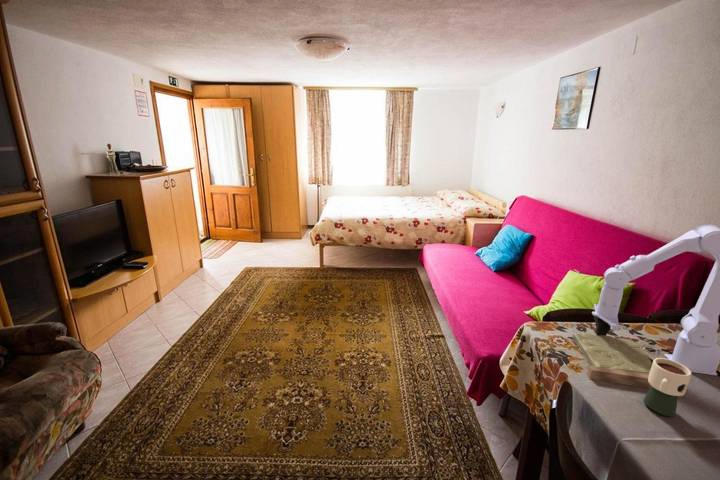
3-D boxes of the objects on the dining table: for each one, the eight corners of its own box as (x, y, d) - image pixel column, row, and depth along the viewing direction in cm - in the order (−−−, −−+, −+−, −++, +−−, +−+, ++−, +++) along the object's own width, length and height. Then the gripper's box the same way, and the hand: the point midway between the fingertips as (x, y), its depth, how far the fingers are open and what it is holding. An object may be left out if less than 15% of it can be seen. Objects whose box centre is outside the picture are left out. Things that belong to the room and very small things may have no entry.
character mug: (671, 428, 80) (687, 383, 76) (635, 409, 85) (648, 367, 81) (681, 406, 86) (696, 365, 82) (646, 391, 91) (659, 351, 88)
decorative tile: (595, 376, 98) (598, 366, 97) (571, 339, 116) (573, 330, 115) (669, 387, 93) (673, 377, 92) (632, 346, 112) (634, 337, 111)
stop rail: (674, 387, 93) (677, 378, 92) (679, 392, 91) (682, 383, 90) (586, 374, 98) (588, 365, 97) (589, 378, 96) (591, 369, 95)
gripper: (587, 291, 118) (579, 325, 122) (605, 311, 104) (595, 348, 108) (609, 294, 116) (601, 327, 120) (631, 314, 102) (620, 351, 106)
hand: (600, 337), depth 114 cm, fingers closed, pressing on decorative tile
